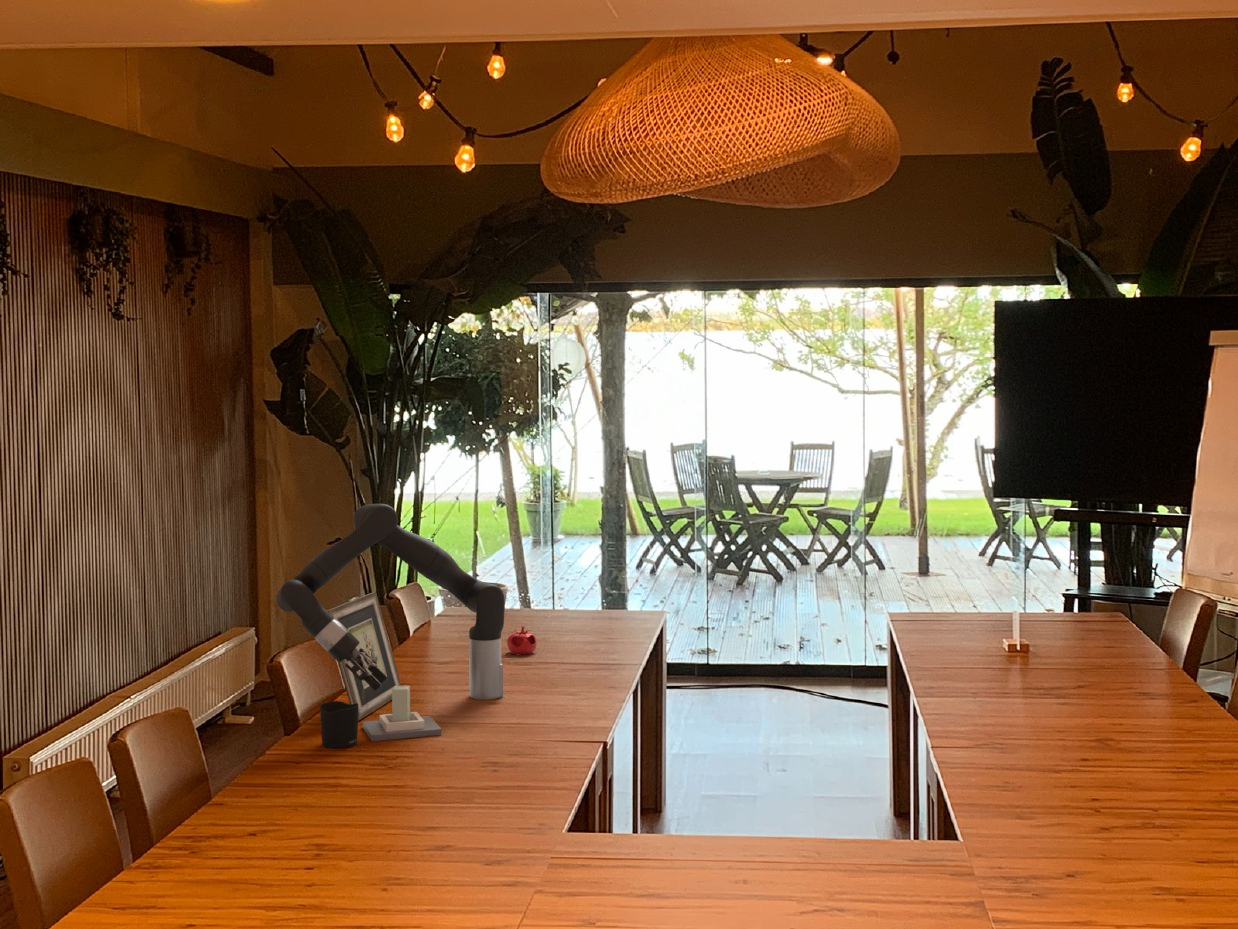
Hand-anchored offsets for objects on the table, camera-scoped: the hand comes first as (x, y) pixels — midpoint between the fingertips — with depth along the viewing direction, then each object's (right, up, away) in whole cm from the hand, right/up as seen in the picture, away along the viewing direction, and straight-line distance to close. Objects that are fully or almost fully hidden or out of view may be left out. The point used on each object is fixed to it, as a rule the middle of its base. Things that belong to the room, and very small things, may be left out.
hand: (381, 684), depth 329 cm
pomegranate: (+29, -7, +100) cm, 104 cm away
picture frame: (-9, -11, +26) cm, 30 cm away
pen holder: (-8, -13, -12) cm, 20 cm away
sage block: (+5, -11, +1) cm, 12 cm away
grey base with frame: (+5, -12, +1) cm, 14 cm away
